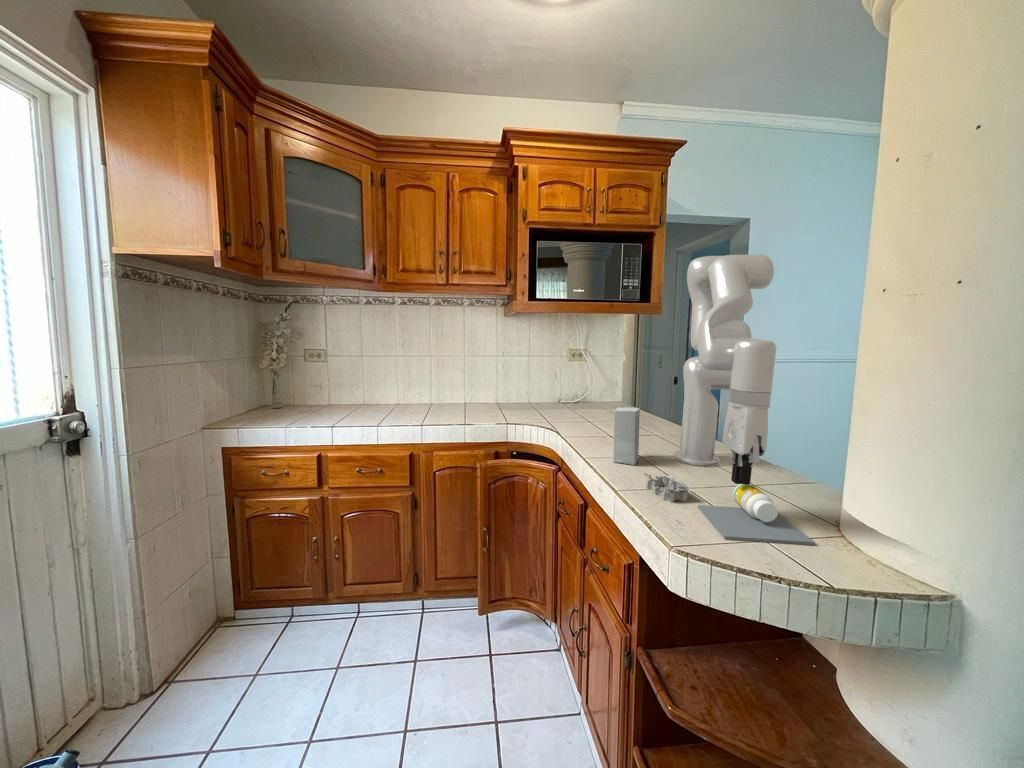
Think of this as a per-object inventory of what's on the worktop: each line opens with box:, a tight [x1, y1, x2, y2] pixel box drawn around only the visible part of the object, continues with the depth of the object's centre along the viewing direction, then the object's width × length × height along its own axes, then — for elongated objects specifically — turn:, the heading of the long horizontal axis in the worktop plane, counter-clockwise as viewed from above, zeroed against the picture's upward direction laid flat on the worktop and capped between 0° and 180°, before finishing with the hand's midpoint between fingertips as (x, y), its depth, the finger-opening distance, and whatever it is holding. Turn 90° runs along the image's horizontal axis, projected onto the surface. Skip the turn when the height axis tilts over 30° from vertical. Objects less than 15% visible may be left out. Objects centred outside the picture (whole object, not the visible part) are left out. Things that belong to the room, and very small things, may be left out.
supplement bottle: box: [732, 483, 779, 522], centre depth 86 cm, size 5×5×10 cm
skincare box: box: [612, 406, 641, 466], centre depth 122 cm, size 8×7×16 cm
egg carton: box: [643, 472, 692, 503], centre depth 98 cm, size 10×7×4 cm
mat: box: [697, 504, 816, 546], centre depth 83 cm, size 14×16×1 cm
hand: (740, 482), depth 89 cm, fingers closed
